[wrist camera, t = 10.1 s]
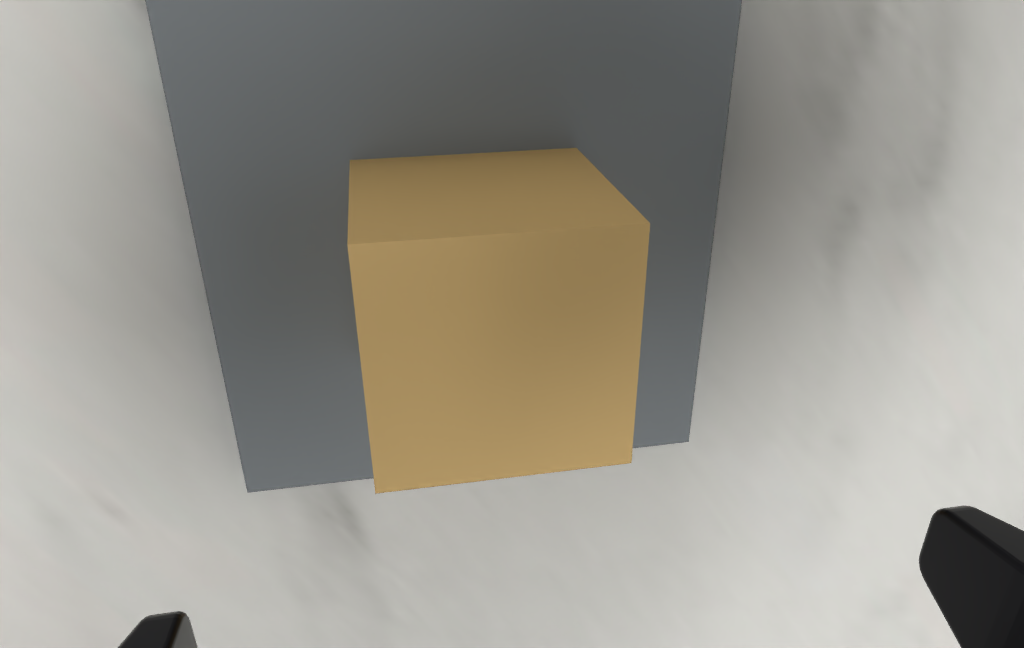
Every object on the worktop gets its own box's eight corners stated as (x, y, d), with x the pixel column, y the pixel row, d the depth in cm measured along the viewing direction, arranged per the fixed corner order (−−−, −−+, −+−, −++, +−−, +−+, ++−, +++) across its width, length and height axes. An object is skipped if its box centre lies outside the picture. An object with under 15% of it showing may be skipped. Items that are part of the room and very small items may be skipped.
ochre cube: (570, 342, 20) (630, 463, 15) (371, 361, 19) (375, 493, 15) (576, 147, 17) (650, 223, 13) (349, 160, 17) (346, 244, 12)
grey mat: (678, 425, 23) (688, 441, 22) (251, 473, 21) (247, 492, 20) (728, -26, 17) (744, -24, 16) (152, -16, 15) (142, -13, 14)
